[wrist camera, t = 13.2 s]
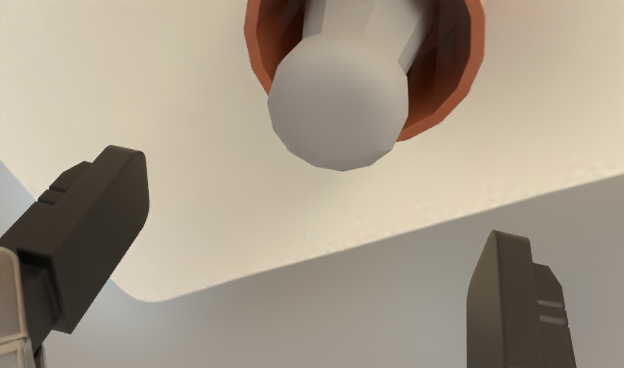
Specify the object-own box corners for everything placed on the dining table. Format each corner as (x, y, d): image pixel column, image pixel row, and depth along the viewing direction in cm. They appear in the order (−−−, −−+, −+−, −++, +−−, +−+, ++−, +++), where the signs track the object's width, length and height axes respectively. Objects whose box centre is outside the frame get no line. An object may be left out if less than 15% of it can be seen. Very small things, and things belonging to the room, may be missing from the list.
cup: (382, -175, 24) (357, -153, 18) (521, -16, 26) (539, 49, 20) (252, -20, 29) (199, 38, 23) (379, 101, 31) (361, 181, 25)
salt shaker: (340, 56, 29) (278, 215, 19) (299, -55, 27) (201, 62, 16) (455, 24, 27) (453, 184, 17) (424, -101, 24) (399, 1, 14)
